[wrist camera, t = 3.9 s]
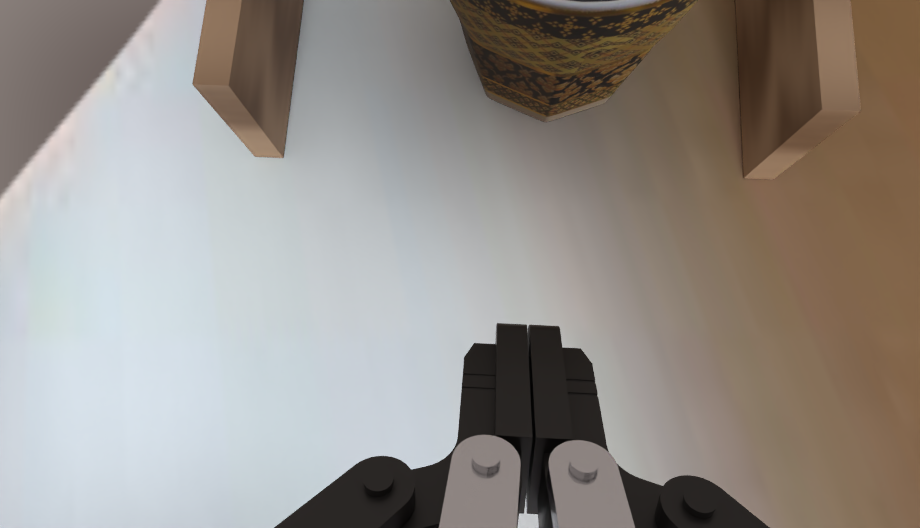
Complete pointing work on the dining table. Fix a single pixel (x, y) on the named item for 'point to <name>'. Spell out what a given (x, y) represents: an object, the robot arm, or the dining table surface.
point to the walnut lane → (759, 62)
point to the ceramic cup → (561, 48)
